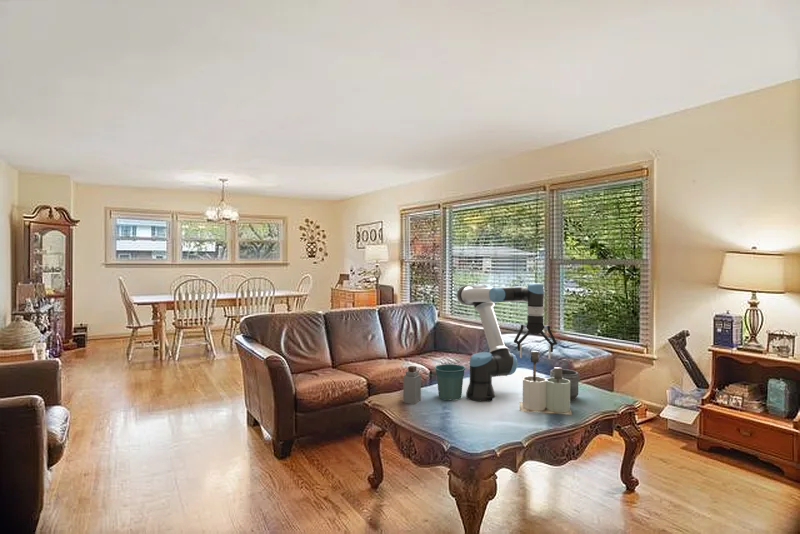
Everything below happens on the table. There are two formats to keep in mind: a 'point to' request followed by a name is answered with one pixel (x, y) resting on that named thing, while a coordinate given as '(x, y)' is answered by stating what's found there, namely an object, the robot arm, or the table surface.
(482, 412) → the table surface
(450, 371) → the flower pot
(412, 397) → the perfume bottle
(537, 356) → the press plunger
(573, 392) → the planter
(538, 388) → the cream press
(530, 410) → the board
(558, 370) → the sage press
